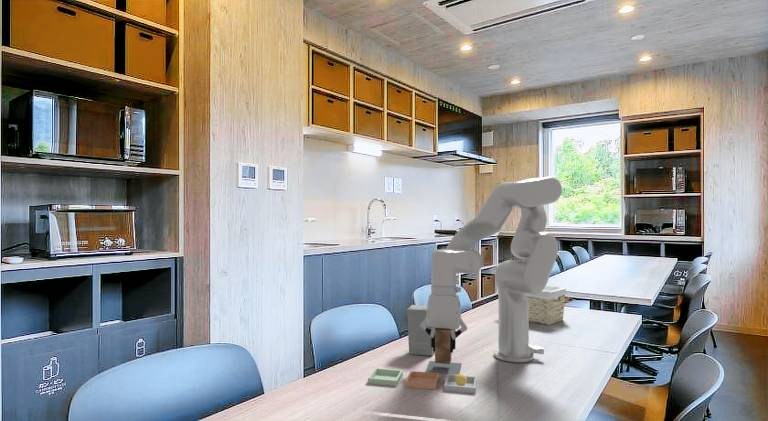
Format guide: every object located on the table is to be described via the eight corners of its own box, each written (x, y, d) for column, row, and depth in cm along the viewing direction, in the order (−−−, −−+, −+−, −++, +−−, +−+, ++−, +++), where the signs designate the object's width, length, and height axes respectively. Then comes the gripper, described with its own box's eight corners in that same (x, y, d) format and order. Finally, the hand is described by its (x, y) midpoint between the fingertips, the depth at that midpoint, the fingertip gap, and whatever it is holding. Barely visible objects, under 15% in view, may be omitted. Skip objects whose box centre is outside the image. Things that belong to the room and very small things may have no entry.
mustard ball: (467, 384, 122) (467, 372, 122) (466, 388, 119) (466, 376, 119) (455, 383, 123) (455, 371, 123) (454, 387, 120) (454, 375, 120)
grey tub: (476, 383, 124) (476, 376, 124) (475, 395, 116) (475, 388, 116) (447, 381, 126) (447, 374, 126) (444, 392, 118) (444, 385, 118)
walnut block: (451, 359, 136) (451, 326, 136) (449, 364, 132) (450, 330, 132) (436, 358, 138) (436, 325, 138) (434, 362, 133) (435, 329, 133)
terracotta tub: (439, 380, 126) (439, 373, 126) (435, 391, 118) (435, 384, 118) (410, 377, 128) (410, 370, 128) (405, 389, 120) (405, 381, 120)
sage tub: (402, 377, 129) (402, 370, 129) (396, 388, 121) (396, 380, 121) (375, 374, 131) (375, 367, 131) (367, 385, 123) (367, 378, 123)
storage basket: (568, 320, 194) (567, 286, 194) (550, 327, 183) (550, 291, 183) (518, 311, 212) (518, 280, 212) (499, 317, 201) (499, 284, 201)
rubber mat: (461, 365, 139) (461, 363, 139) (459, 376, 129) (459, 374, 129) (429, 362, 141) (429, 360, 141) (425, 374, 131) (425, 372, 131)
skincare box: (436, 351, 153) (436, 304, 153) (431, 357, 146) (431, 309, 146) (412, 348, 155) (412, 303, 155) (406, 354, 149) (406, 307, 149)
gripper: (472, 289, 136) (472, 349, 136) (418, 287, 140) (417, 345, 140) (471, 294, 129) (471, 357, 129) (414, 291, 133) (413, 352, 133)
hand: (443, 350), depth 135 cm, fingers closed on walnut block, 4 cm apart
